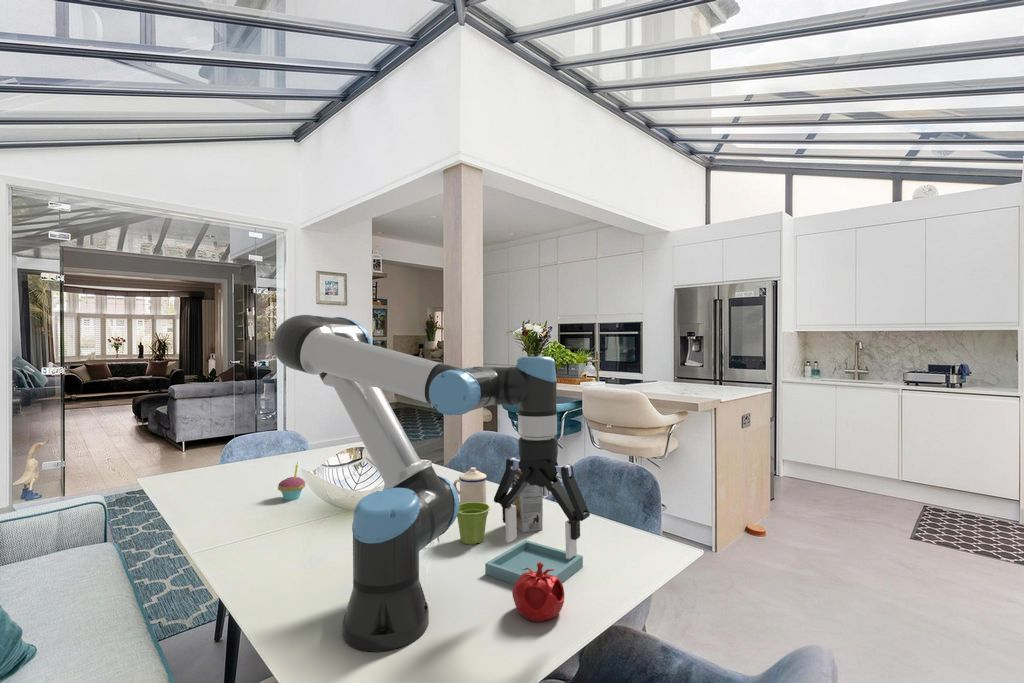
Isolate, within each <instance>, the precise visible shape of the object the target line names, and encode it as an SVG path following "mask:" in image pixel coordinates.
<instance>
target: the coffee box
mask: <svg viewBox="0 0 1024 683" xmlns="http://www.w3.org/2000/svg"><path fill="white" fill-rule="evenodd" d="M521 475H522V472H521V470H520V469H519V468H518V469H517V472H516V474H515V477H514V479H513V481H512V484H511V487H512V488H513V487H514V485H515V484H516V483H517V480H518V479H519V477H520V476H521ZM512 488H511V489H512ZM543 488H544V487H539V486H537V485H533V486H532V485H529V483H528V484H527V485H526V487H525V488H524V489H523V491H522V492H521V493H520V494H519V496H518V497H517V498H516V500H515V501H514V502H513V504H511V506H512V505H515V506H516V525H517V528H518V529H519V531H520V532H521V533H529V532H537V531H543V528H544V526H543V522H544V521H543V518H544V517H543V516H544V515H543V503H544V502H543V498H544V497H543V496H544V494H543Z"/></svg>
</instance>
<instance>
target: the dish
mask: <svg viewBox="0 0 1024 683" xmlns="http://www.w3.org/2000/svg"><path fill="white" fill-rule="evenodd" d="M540 562H541V563H543V567H542V572H544V571H546V570H547V569H554V570H553V571H548V573H547V574H549V575H554V576H556V577H558V578H559V579H560V581H561V582H562V584H563V583H564V582H566V580H568V579H569V578H571V577H572V576H573V575H574V574H576V573H577V572H578V571H580V570H581V569H582V568H583V567H584V556H583V555H581V554H578V553H577V554H576V555H574V556H573V557H572V558H570V559H567V558H566V550H562V549H558V548H556V547H555V548H554V547H552V546H548V545H544V544H541V543H537V542H534V541H530V540H523V541H521V542H519V543H518V544H517V545H514V546H513V547H511V548H509V549H507V550H506V551H504V552H503V553H501V554H499V555H497V556H495V557H494V558H492V559H490V560H488V561H487V562H485V565H484V566H485V568H484V569H485V572H484V574H485V575H486V576H487V577H491V578H494V579H497V580H500V581H503V582H505V583H509V584H512V585H515V582H516V581H517V580H518V579H519V578H520V576H521V575H522V574H523V573H527V572H530V571H529V570H528V569H527V570H523V569H525V568H530V569H531V570H532V571H533V572H537V570H538V566H537V563H540Z"/></svg>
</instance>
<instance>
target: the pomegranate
mask: <svg viewBox="0 0 1024 683" xmlns="http://www.w3.org/2000/svg"><path fill="white" fill-rule="evenodd" d="M537 566H538V570H537V572H533V571H532V570H531V569H530V568H525V569H523V570H527V569H528V570H529V571H530V572H527V573H523V574H522V575H521V576H520V578H519V579H518V580H517V581H516V582H515V585H514V584H513V585H514V586H513V588H512V591H511V593H512V598H513V602H514V604H515V607H516V609H517V611H518V612H519V613H520V615H521V616H523V617H524V618H526V619H527V620H529V621H533V622H544V621H548V620H551V619H554V618H556V617H557V616H558V615H559V614H560V612H561V611H562V609H563V607H564V603H565V591H564V590H565V589H564V585H563V583H562V582H561V581H560V579H559V578H558V577H556V576H554V575H549V574H547V573H548V571H553V570H554V569H547V570H546V571H544V572H542V567H543V563H541V562H540V563H537Z"/></svg>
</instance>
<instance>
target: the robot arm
mask: <svg viewBox="0 0 1024 683" xmlns="http://www.w3.org/2000/svg"><path fill="white" fill-rule="evenodd" d="M272 339H273V340H272V348H273V351H274V352H273V353H274V354H275V357H276V358H277V359H278V361H279V362H280V363H281V364H283V365H284V366H285V367H287V368H289V369H292V370H295V371H299V372H303V373H306V374H310V375H312V376H313V375H314V376H315V375H316V376H317V375H319V377H320V379H321V381H322V383H323V385H324V386H329V387H331V388H334V390H335V391H336V394H337V396H338V398H339V399H340V402H341V404H342V405H343V407H344V409H345V411H346V412H347V414H348V416H349V418H350V420H351V422H352V424H353V426H354V428H355V429H356V432H357V433H358V435H359V438H360V440H361V441H362V443H363V445H364V447H365V448H366V450H367V452H368V454H369V456H370V458H371V460H372V462H373V464H374V466H375V467H376V470H377V471H378V473H379V475H380V477H381V479H382V480H383V484H384V485H383V490H376V491H374V492H371V493H368V494H366V495H365V496H363V498H361V499H360V500H359V501H358V502H357V504H356V505H355V507H354V511H353V519H352V520H353V521H352V523H351V530H352V575H353V576H352V578H353V580H352V584H353V585H352V591H351V593H350V597H349V601H348V604H347V608H346V611H345V613H344V615H343V619H342V638H343V640H344V642H345V643H346V644H348V645H349V646H350V647H352V648H354V649H357V650H360V651H366V652H383V651H385V652H386V651H391V650H395V649H398V648H401V647H404V646H406V645H409V644H411V643H412V642H414V641H416V640H417V639H419V638H420V637H421V636H422V635H423V634H424V633H425V631H426V630H427V628H428V626H429V624H430V622H429V621H430V619H429V617H430V616H429V614H430V613H429V612H430V610H429V605H428V602H427V601H426V600H427V599H426V597H425V593H424V590H423V587H422V585H421V584H422V583H421V581H420V551H422V550H423V549H424V548H426V547H427V546H428V545H429V544H430V543H432V542H433V541H434V540H436V539H437V538H439V537H440V536H442V535H444V534H445V533H447V531H448V530H449V528H450V527H451V526H452V525H453V523H455V521H456V519H457V514H458V510H459V504H460V496H459V494H458V493H457V491H456V489H455V487H454V485H453V483H452V482H451V481H450V480H449V479H447V478H445V477H443V476H441V475H437V472H436V471H435V469H434V468H433V466H432V465H431V464H430V463H427V462H423V461H422V460H421V459H420V457H419V456H418V455H419V454H417V452H416V450H415V448H414V446H413V445H412V443H411V441H410V438H408V436H407V434H406V431H405V430H404V428H403V426H402V424H401V422H400V420H399V419H398V417H397V416H396V414H395V412H394V410H393V408H392V406H391V405H390V402H389V401H388V399H387V396H386V395H385V393H384V392H383V391H385V392H390V393H393V394H396V395H400V396H402V397H405V398H409V399H413V400H416V401H419V402H423V403H426V404H430V405H432V406H433V408H435V409H436V411H438V412H439V413H441V414H443V415H446V416H462V415H465V414H467V413H469V412H472V411H475V410H477V409H481V408H484V407H488V406H517V432H518V434H517V435H519V436H520V437H519V438H518V441H517V442H518V456H519V457H520V458H519V459H518V457H517V456H513V457H510V458H507V459H506V460H505V461H506V462H505V470H504V472H503V475H502V477H501V480H500V482H499V485H498V487H497V490H496V492H495V495H494V497H493V502H494V503H496V504H499V505H500V507H502V522H503V524H504V525H505V526H504V527H505V542H506V543H510V542H512V541H514V540H516V539H517V535H518V534H517V530H518V529H517V528H518V527H517V525H516V506H515V505H512V504H513V502H514V501H515V500H516V498H517V497H518V496H519V494H520V493H521V492H522V491H523V489H524V488H525V487H526V485H527V484H528V483H529V485H532V486H533V485H537V486H539V487H543V488H545V489H546V490H547V491H548V492H550V494H551V495H552V496H553V498H554V499H555V501H556V503H557V504H558V506H559V507H560V508H561V510H562V512H563V513H564V515H565V517H566V518H567V519H568V520H566V521H565V522H564V524H565V525H564V528H565V529H564V530H565V532H564V533H565V537H564V538H565V551H566V558H567V559H570V558H572V557H573V556H574V555H576V554H578V553H577V552H578V549H577V546H578V545H577V540H578V539H579V538H580V537H581V522H583V521H584V520H586V519H588V518H589V517H590V515H591V513H590V510H589V508H588V506H587V504H586V502H585V501H586V500H584V497H583V494H582V492H581V490H580V487H579V486H578V482H577V480H576V479H575V476H574V467H573V465H572V464H571V463H570V464H569V463H568V464H567V465H559V463H558V454H559V450H558V448H559V447H558V438H557V436H556V435H557V434H558V413H557V412H558V411H557V410H558V409H557V384H558V383H557V382H558V379H557V372H556V361H555V359H554V358H553V357H551V356H519V357H518V358H517V359H516V364H515V366H507V367H506V366H502V367H501V366H473V367H465V368H460V367H458V366H453V365H449V364H445V363H443V362H437V361H434V360H431V359H427V358H424V357H419V356H415V355H412V354H408V353H404V352H400V351H397V350H393V349H389V348H386V347H383V346H379V345H374V344H372V339H371V336H370V334H369V332H368V331H367V329H366V328H365V327H364V326H363V325H362V324H361V323H360V322H358V321H356V320H352V319H349V318H346V317H341V316H340V317H339V316H337V317H335V316H334V317H330V316H329V317H328V316H321V315H320V316H319V315H311V314H299V315H295V316H292V317H288V318H287V319H286V320H284V321H283V322H281V324H280V325H278V326H277V329H276V330H275V332H274V335H273V338H272ZM518 468H519V469H520V470H521V472H522V475H521V476H520V477H519V479H518V480H517V483H516V484H515V485H514V487H513V488H511V487H512V481H513V479H514V477H515V474H516V472H517V469H518ZM557 474H558V475H557ZM558 476H559V478H561V481H562V482H561V481H560V479H559V478H558ZM562 484H563V485H562ZM563 486H564V487H563ZM510 488H511V489H510ZM565 490H566V491H565Z"/></svg>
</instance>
